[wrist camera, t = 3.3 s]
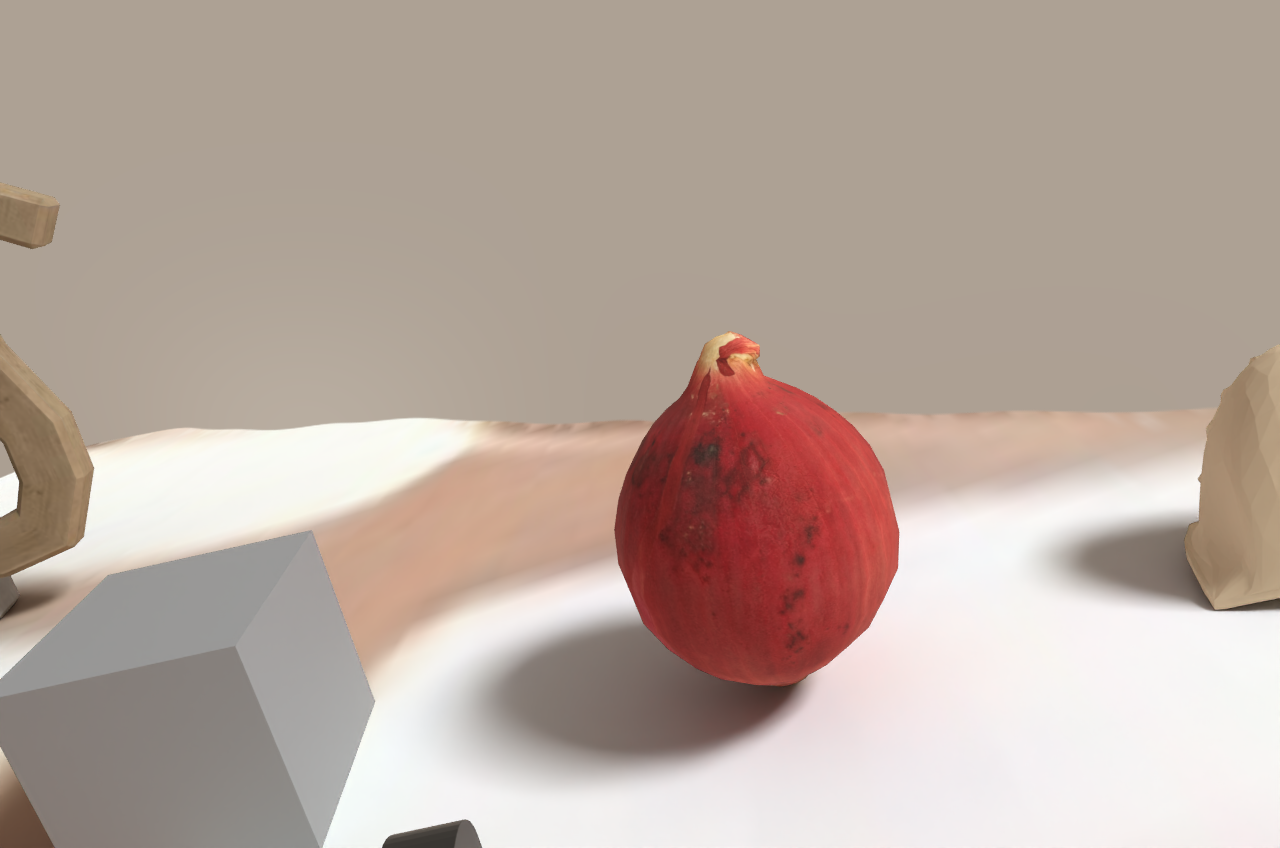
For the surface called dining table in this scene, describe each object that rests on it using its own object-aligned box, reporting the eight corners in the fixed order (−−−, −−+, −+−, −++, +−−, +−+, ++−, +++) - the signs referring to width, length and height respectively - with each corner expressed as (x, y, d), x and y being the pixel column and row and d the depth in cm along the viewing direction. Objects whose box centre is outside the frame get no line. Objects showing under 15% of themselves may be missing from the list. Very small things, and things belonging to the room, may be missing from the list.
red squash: (873, 799, 17) (804, 387, 14) (609, 745, 20) (513, 398, 17) (944, 621, 21) (902, 285, 19) (721, 599, 25) (658, 308, 22)
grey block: (85, 904, 19) (-24, 702, 17) (185, 745, 24) (108, 575, 22) (322, 853, 19) (235, 645, 17) (376, 704, 24) (311, 530, 22)
